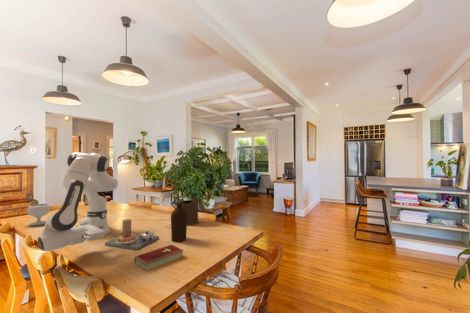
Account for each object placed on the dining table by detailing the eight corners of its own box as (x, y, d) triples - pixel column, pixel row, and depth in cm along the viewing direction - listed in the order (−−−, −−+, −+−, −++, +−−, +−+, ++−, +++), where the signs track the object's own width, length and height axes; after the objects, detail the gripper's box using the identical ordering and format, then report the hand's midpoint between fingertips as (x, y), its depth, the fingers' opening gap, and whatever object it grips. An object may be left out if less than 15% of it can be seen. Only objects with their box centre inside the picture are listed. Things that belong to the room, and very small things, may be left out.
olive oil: (185, 242, 136) (185, 202, 136) (168, 242, 136) (168, 202, 136) (188, 236, 146) (189, 199, 147) (173, 236, 147) (173, 199, 147)
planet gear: (112, 242, 130) (113, 222, 131) (122, 236, 142) (122, 217, 142) (131, 242, 130) (131, 222, 131) (139, 236, 142) (139, 217, 142)
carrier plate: (104, 245, 131) (104, 236, 131) (129, 234, 150) (129, 226, 150) (137, 250, 124) (137, 240, 124) (158, 238, 143) (159, 229, 143)
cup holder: (197, 226, 171) (197, 194, 171) (167, 225, 171) (167, 194, 172) (201, 219, 189) (201, 191, 190) (174, 219, 190) (174, 191, 190)
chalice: (47, 220, 184) (47, 202, 184) (52, 223, 176) (52, 204, 176) (24, 224, 173) (25, 205, 173) (29, 227, 165) (29, 207, 165)
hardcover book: (134, 263, 109) (134, 255, 109) (171, 251, 124) (171, 243, 124) (145, 272, 101) (145, 263, 101) (183, 257, 116) (183, 249, 116)
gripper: (86, 233, 109) (115, 226, 120) (72, 225, 121) (98, 220, 132) (86, 245, 109) (114, 237, 120) (71, 236, 121) (98, 230, 132)
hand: (106, 228), depth 127 cm, fingers open, 8 cm apart
